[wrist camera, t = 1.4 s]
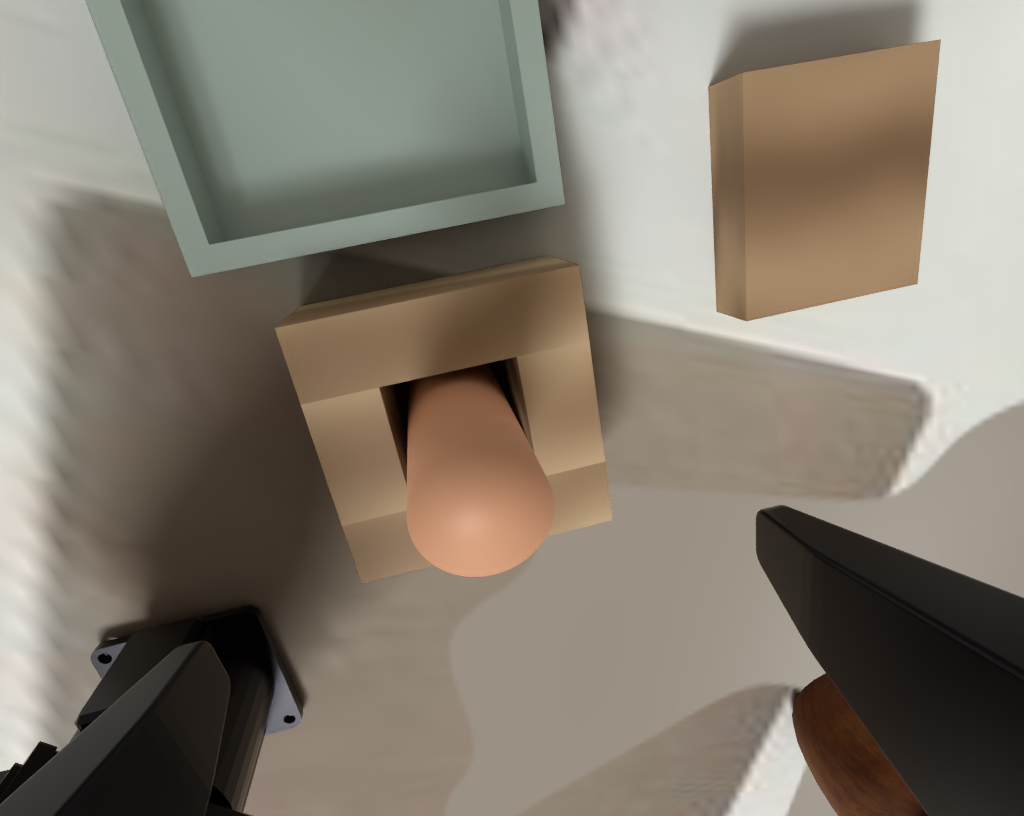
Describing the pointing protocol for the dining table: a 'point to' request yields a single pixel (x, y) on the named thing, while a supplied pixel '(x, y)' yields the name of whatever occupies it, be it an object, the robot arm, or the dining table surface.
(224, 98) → the tray
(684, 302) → the dining table surface
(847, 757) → the wooden figurine
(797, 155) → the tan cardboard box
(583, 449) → the socket block
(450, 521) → the dowel
